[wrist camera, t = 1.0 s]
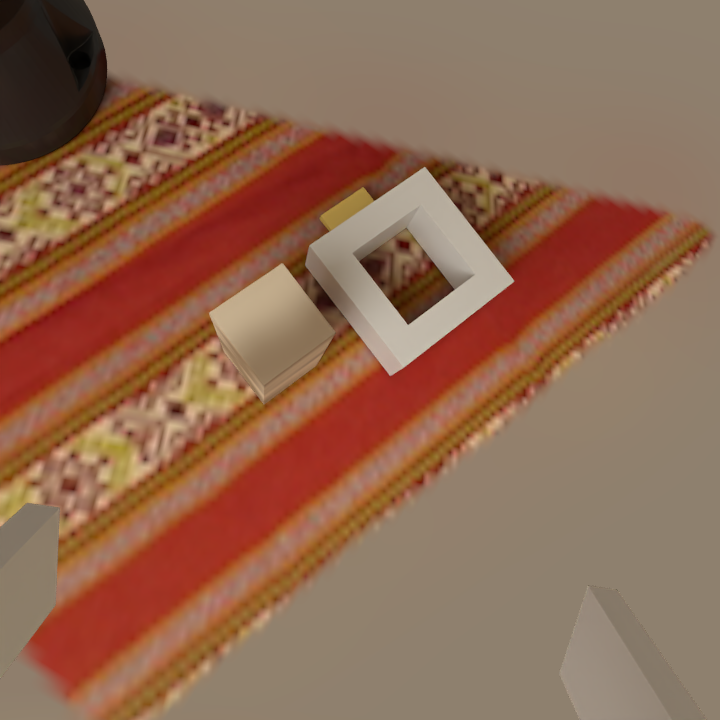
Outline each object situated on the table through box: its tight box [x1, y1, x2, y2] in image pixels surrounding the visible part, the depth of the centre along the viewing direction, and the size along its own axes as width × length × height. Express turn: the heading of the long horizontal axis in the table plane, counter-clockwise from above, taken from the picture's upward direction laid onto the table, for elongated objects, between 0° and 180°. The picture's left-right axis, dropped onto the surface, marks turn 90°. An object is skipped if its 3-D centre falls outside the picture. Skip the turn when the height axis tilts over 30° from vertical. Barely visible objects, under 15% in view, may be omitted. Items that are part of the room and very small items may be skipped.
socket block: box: [305, 167, 514, 376], centre depth 40 cm, size 12×10×4 cm
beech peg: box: [209, 263, 336, 404], centre depth 34 cm, size 4×4×11 cm
